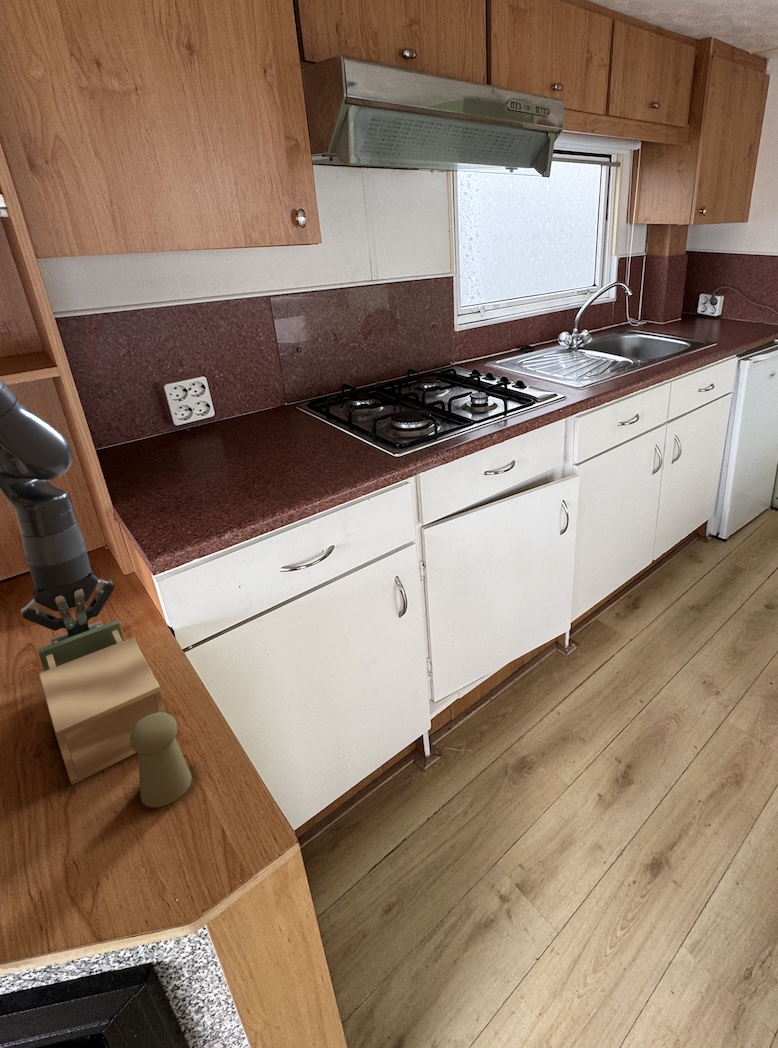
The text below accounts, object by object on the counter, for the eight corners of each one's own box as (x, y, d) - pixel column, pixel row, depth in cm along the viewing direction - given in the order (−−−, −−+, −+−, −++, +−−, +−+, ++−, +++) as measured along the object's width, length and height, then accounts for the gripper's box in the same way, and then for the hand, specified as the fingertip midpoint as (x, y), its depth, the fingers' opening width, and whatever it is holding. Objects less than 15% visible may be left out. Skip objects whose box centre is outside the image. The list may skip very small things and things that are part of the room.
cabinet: (53, 721, 87) (38, 673, 84) (144, 682, 95) (133, 636, 92) (71, 785, 77) (55, 733, 74) (170, 735, 85) (159, 686, 82)
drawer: (43, 668, 96) (32, 631, 94) (118, 639, 104) (110, 604, 101) (63, 736, 84) (51, 696, 81) (147, 698, 91) (139, 660, 88)
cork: (198, 786, 77) (185, 723, 74) (148, 816, 73) (131, 750, 70) (182, 759, 81) (169, 697, 78) (134, 786, 77) (117, 722, 74)
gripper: (100, 530, 98) (121, 615, 104) (0, 557, 90) (29, 648, 96) (110, 546, 93) (131, 635, 99) (5, 577, 85) (35, 672, 91)
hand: (81, 641), depth 97 cm, fingers closed
